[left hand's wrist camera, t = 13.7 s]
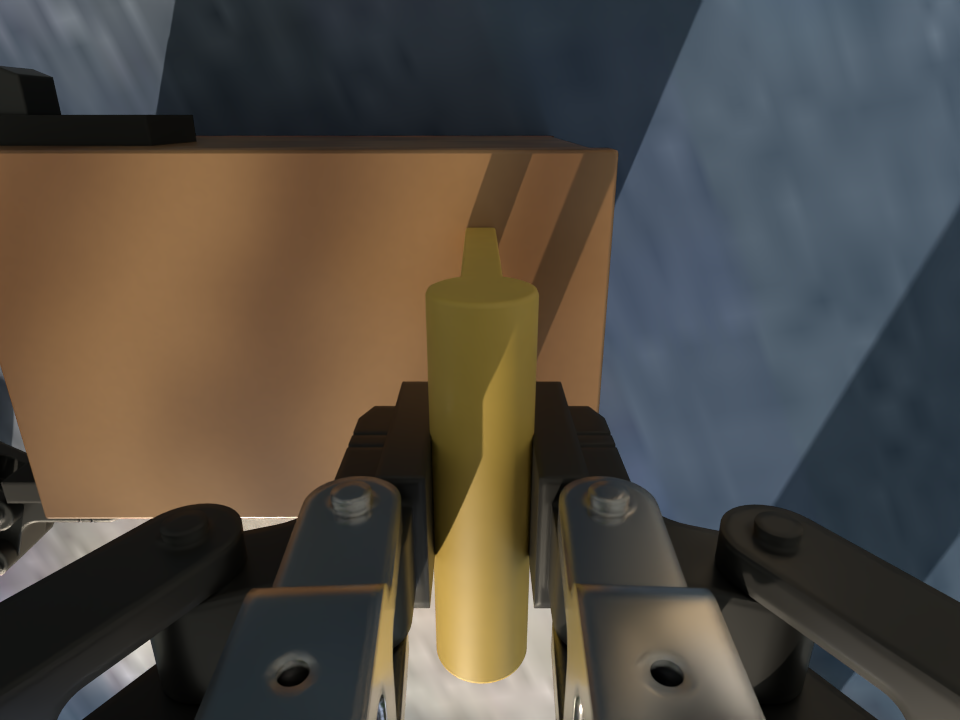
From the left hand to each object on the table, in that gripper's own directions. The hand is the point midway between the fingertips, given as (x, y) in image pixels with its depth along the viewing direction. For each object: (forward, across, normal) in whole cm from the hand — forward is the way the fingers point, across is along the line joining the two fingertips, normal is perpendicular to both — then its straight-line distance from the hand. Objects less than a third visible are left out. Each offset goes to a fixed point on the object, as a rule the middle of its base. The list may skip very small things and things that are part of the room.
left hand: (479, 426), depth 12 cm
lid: (+5, +5, 0) cm, 7 cm away
